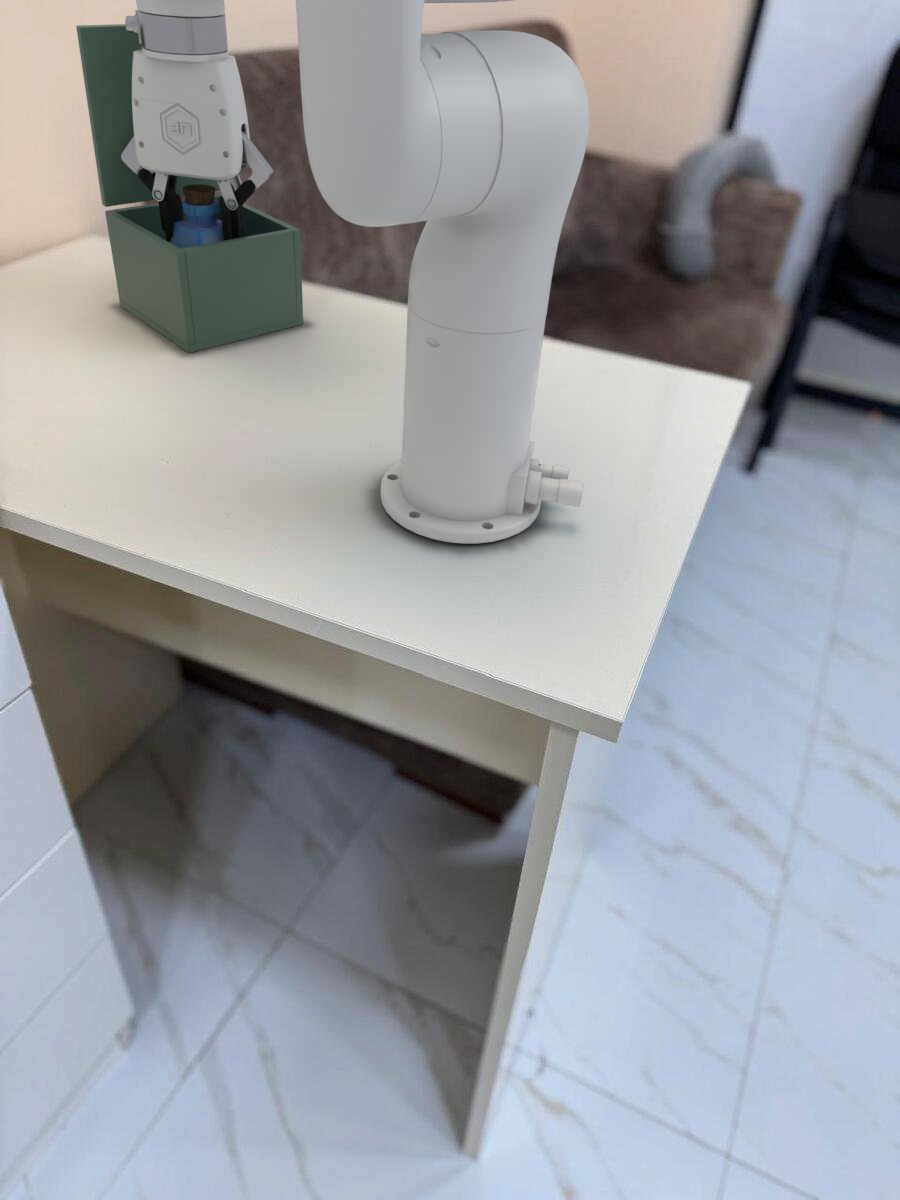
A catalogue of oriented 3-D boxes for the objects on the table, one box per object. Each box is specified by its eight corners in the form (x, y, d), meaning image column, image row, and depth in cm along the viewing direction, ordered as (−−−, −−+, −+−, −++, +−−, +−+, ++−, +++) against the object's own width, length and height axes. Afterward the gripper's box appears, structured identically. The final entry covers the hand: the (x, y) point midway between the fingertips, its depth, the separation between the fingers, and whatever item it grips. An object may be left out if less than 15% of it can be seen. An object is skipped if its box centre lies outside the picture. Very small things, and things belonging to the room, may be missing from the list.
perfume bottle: (168, 307, 96) (152, 187, 89) (213, 293, 100) (202, 176, 93) (208, 324, 93) (195, 201, 86) (252, 308, 97) (244, 190, 90)
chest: (303, 324, 97) (300, 229, 91) (189, 353, 89) (177, 252, 83) (230, 282, 105) (223, 193, 99) (120, 306, 98) (104, 210, 91)
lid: (214, 23, 88) (187, 12, 91) (79, 27, 81) (54, 15, 84) (224, 189, 98) (200, 175, 101) (105, 207, 91) (82, 191, 94)
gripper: (73, 31, 79) (108, 244, 90) (262, 51, 77) (273, 265, 89) (112, 22, 85) (141, 223, 96) (289, 40, 83) (297, 242, 95)
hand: (204, 241), depth 92 cm, fingers closed on perfume bottle, 5 cm apart
